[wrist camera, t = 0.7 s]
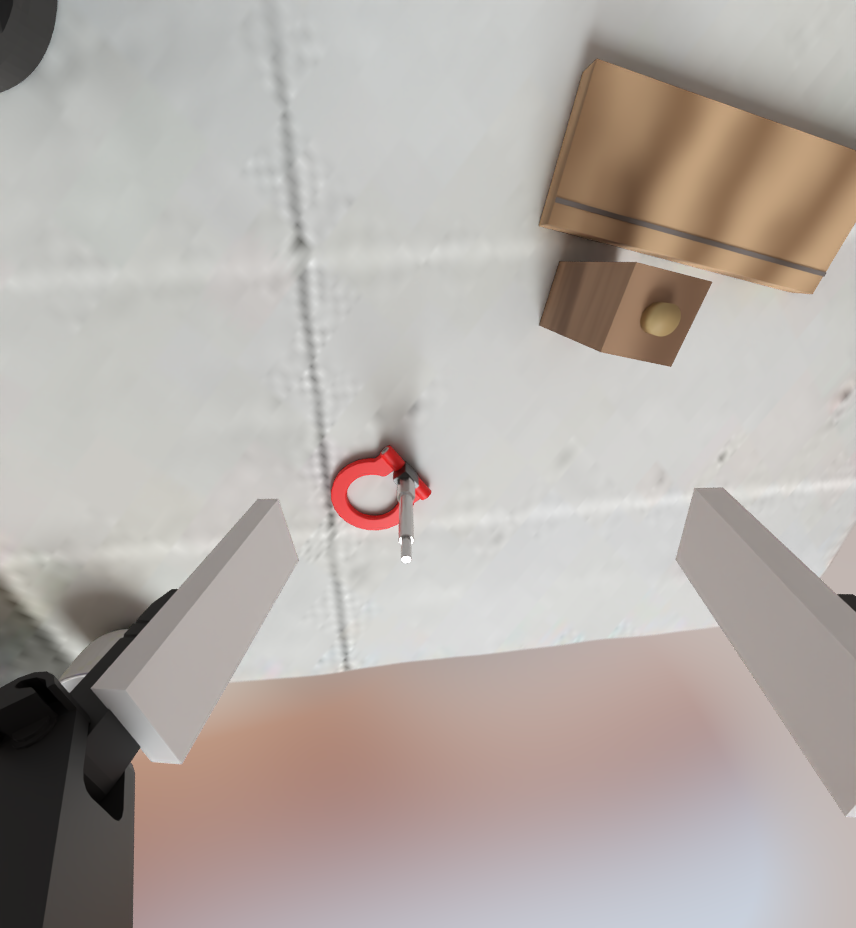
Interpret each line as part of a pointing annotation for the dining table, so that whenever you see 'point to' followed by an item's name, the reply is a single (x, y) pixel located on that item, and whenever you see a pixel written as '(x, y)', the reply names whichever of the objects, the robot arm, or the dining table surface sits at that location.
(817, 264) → the board
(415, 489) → the tow hook
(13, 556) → the dining table surface
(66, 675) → the teacup
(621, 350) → the block
